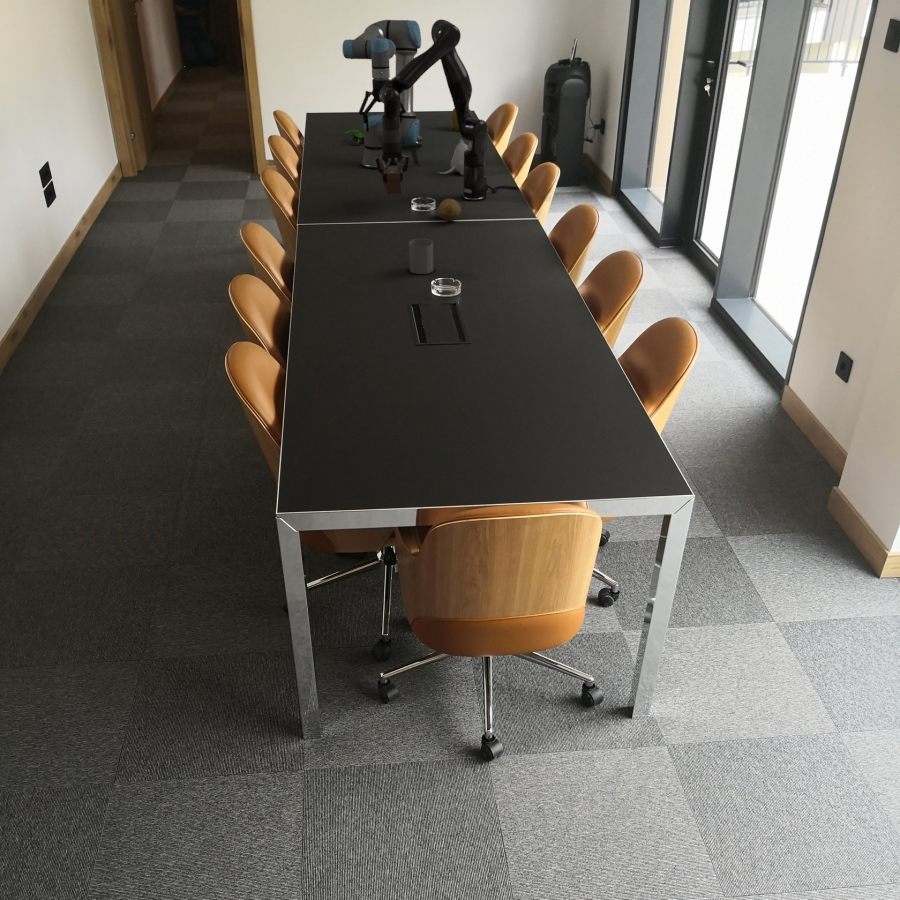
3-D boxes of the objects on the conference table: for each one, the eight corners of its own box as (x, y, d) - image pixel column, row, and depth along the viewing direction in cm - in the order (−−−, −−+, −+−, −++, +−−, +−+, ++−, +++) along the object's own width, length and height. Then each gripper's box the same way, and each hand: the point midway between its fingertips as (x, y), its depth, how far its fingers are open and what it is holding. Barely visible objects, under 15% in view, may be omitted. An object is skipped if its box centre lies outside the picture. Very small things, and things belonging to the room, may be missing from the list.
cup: (409, 265, 311) (408, 238, 306) (432, 265, 312) (431, 238, 307) (410, 274, 304) (409, 246, 299) (433, 273, 305) (433, 246, 299)
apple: (471, 132, 486) (471, 108, 479) (451, 132, 486) (451, 108, 479) (470, 128, 495) (471, 104, 488) (452, 128, 495) (452, 104, 488)
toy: (478, 172, 417) (478, 139, 409) (444, 182, 402) (444, 148, 394) (464, 168, 422) (464, 136, 414) (430, 178, 407) (430, 145, 399)
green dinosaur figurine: (399, 126, 467) (343, 124, 465) (399, 141, 460) (342, 139, 458) (399, 136, 472) (343, 133, 470) (399, 151, 465) (342, 149, 463)
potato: (459, 214, 362) (459, 195, 357) (462, 225, 350) (462, 205, 346) (436, 214, 361) (436, 195, 357) (438, 225, 349) (438, 205, 345)
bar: (381, 178, 376) (380, 158, 371) (393, 177, 376) (392, 158, 372) (388, 194, 356) (387, 173, 352) (400, 193, 357) (400, 172, 352)
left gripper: (352, 81, 362) (355, 133, 374) (411, 79, 366) (412, 131, 377) (350, 78, 368) (353, 130, 380) (408, 76, 372) (410, 127, 384)
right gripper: (374, 143, 344) (376, 185, 353) (410, 141, 346) (411, 183, 355) (372, 138, 350) (374, 180, 359) (407, 136, 352) (409, 178, 362)
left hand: (383, 130), depth 379 cm, fingers open, 13 cm apart
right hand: (393, 182), depth 357 cm, fingers closed on bar, 5 cm apart
